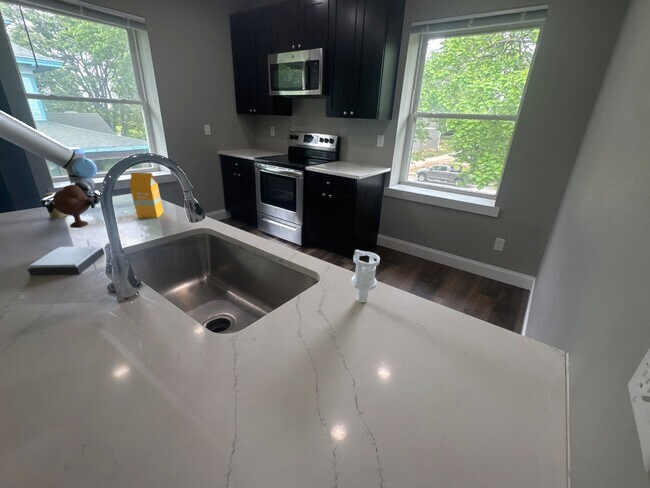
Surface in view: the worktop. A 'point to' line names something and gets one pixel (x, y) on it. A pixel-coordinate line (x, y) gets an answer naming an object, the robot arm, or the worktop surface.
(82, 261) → the scale
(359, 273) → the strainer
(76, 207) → the ice cream bowl
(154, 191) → the orange juice
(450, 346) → the worktop surface
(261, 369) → the worktop surface
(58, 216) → the cork
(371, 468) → the worktop surface
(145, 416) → the worktop surface
